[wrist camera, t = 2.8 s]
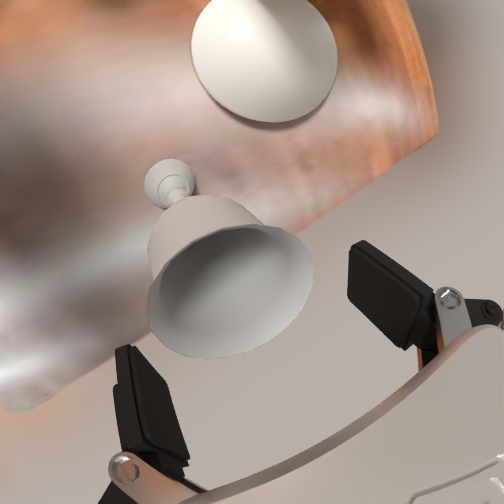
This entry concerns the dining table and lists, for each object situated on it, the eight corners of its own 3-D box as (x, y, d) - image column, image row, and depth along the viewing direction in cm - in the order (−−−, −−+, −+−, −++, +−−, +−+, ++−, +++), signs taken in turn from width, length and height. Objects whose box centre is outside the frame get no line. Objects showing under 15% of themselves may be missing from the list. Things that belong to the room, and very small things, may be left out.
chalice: (131, 217, 25) (151, 368, 11) (135, 148, 22) (144, 224, 8) (201, 216, 28) (291, 343, 14) (210, 152, 25) (332, 225, 11)
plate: (176, -6, 15) (178, -11, 14) (317, -9, 19) (323, -11, 18) (210, 138, 24) (214, 140, 23) (339, 110, 28) (345, 111, 27)
